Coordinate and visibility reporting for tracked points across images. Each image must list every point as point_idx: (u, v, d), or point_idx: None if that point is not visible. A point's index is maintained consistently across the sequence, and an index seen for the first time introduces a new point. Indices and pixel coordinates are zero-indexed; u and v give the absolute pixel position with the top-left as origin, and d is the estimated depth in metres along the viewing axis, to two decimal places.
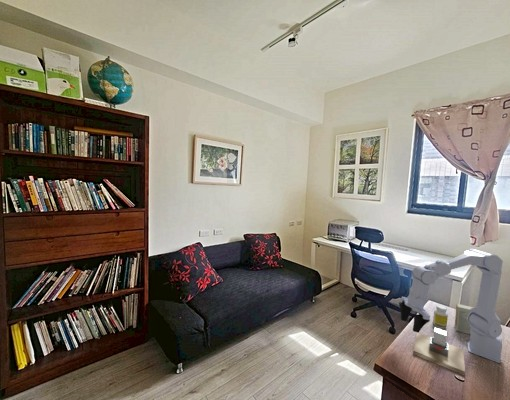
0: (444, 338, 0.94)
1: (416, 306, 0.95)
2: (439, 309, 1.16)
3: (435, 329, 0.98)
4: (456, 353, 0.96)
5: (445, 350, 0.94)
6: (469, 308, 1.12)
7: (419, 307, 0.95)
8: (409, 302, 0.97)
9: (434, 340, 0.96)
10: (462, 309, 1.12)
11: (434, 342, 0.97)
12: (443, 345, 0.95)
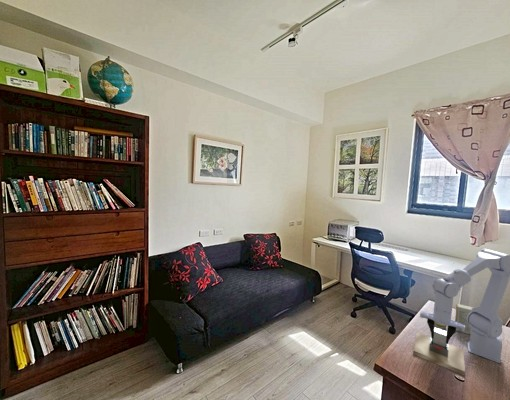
0: (444, 338, 0.94)
1: (449, 321, 0.94)
2: None
3: (435, 329, 0.98)
4: (456, 353, 0.96)
5: (445, 350, 0.94)
6: (469, 308, 1.12)
7: (450, 320, 0.94)
8: (442, 320, 0.94)
9: (434, 340, 0.96)
10: (462, 309, 1.12)
11: (434, 342, 0.97)
12: (443, 345, 0.95)
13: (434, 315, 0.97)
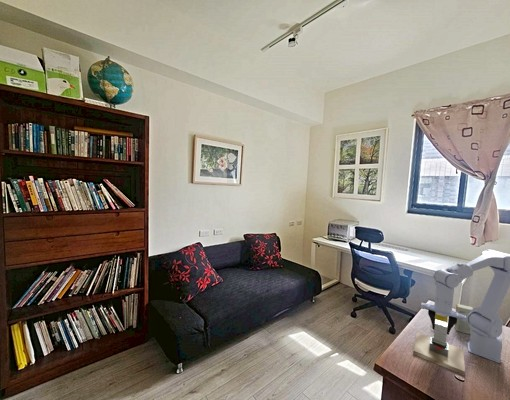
0: (445, 330, 0.94)
1: (450, 311, 0.93)
2: None
3: (436, 321, 0.98)
4: (456, 353, 0.96)
5: (445, 350, 0.94)
6: (469, 308, 1.12)
7: (451, 311, 0.94)
8: (443, 310, 0.94)
9: (435, 332, 0.96)
10: (462, 309, 1.12)
11: (435, 334, 0.96)
12: (444, 337, 0.94)
13: (435, 306, 0.96)
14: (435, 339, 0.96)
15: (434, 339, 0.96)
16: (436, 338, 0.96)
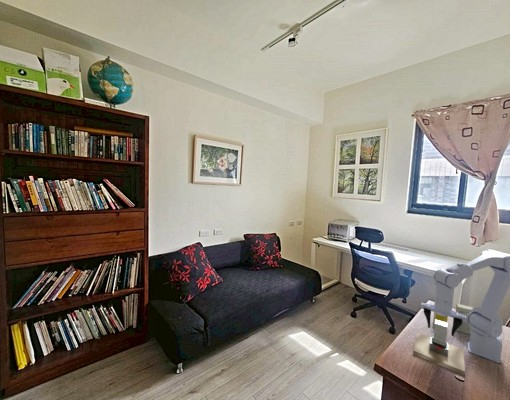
0: (445, 330, 0.94)
1: (450, 311, 0.93)
2: None
3: (436, 321, 0.98)
4: (456, 353, 0.96)
5: (445, 350, 0.94)
6: (469, 308, 1.12)
7: (451, 311, 0.94)
8: (443, 310, 0.94)
9: (435, 332, 0.96)
10: (462, 309, 1.12)
11: (435, 334, 0.96)
12: (444, 337, 0.94)
13: (435, 306, 0.96)
14: (435, 339, 0.96)
15: (434, 339, 0.96)
16: (436, 338, 0.96)
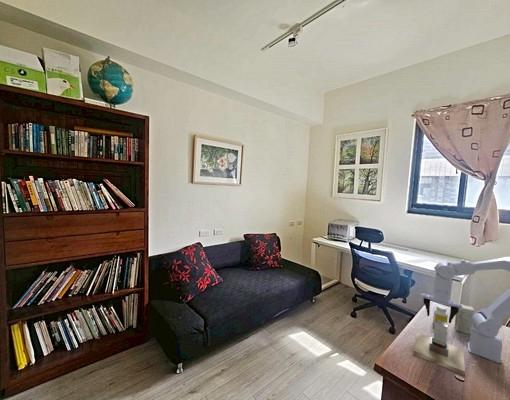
0: (445, 330, 0.94)
1: (448, 301, 1.02)
2: (439, 309, 1.16)
3: (436, 321, 0.98)
4: (456, 353, 0.96)
5: (445, 350, 0.94)
6: (469, 308, 1.12)
7: (449, 300, 1.03)
8: (441, 299, 1.03)
9: (435, 332, 0.96)
10: (462, 309, 1.12)
11: (435, 334, 0.96)
12: (444, 337, 0.94)
13: (434, 296, 1.05)
14: (435, 339, 0.96)
15: (434, 339, 0.96)
16: (436, 338, 0.96)
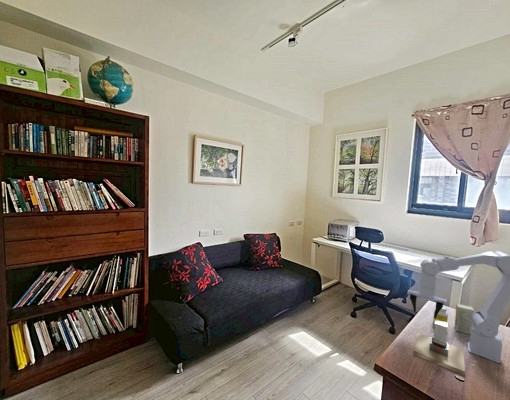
0: (445, 330, 0.94)
1: (433, 296, 1.05)
2: None
3: (436, 321, 0.98)
4: (456, 353, 0.96)
5: (445, 350, 0.94)
6: (469, 308, 1.12)
7: (434, 296, 1.05)
8: (426, 295, 1.05)
9: (435, 332, 0.96)
10: (462, 309, 1.12)
11: (435, 334, 0.96)
12: (444, 337, 0.94)
13: (420, 292, 1.08)
14: (435, 339, 0.96)
15: (434, 339, 0.96)
16: (436, 338, 0.96)
